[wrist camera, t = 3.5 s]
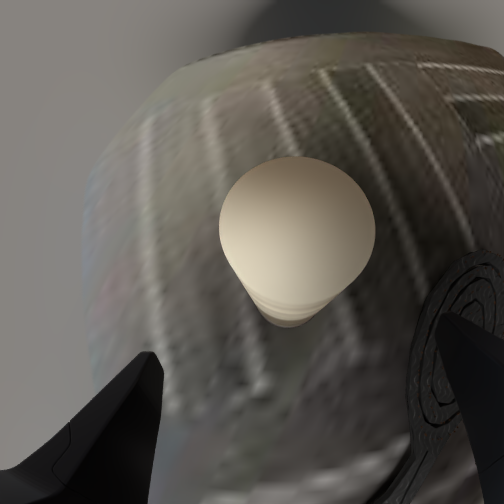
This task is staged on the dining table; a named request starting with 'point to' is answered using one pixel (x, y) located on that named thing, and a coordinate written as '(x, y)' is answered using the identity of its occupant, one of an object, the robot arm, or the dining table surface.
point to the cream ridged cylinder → (296, 236)
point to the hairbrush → (431, 367)
